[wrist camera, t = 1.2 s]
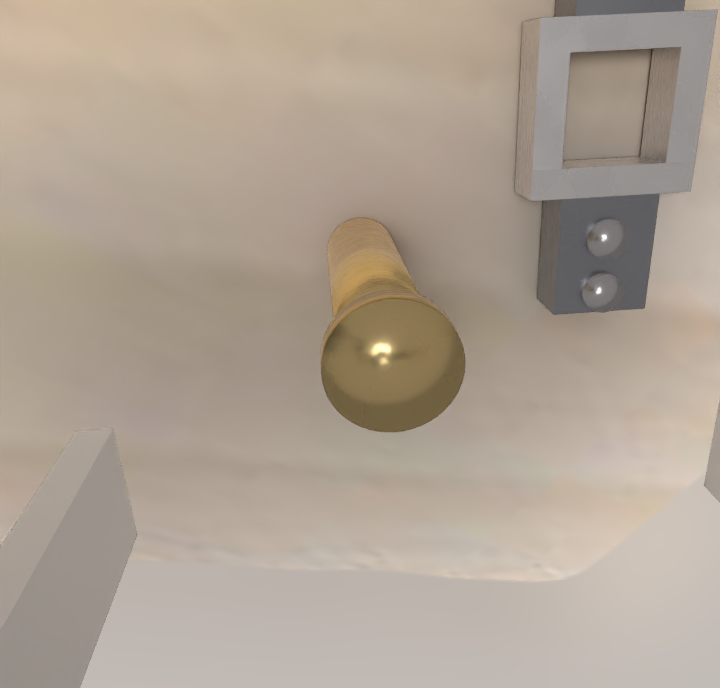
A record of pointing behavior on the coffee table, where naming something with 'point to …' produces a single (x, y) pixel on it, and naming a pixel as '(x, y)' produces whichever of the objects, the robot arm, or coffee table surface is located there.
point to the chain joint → (608, 175)
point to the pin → (384, 336)
